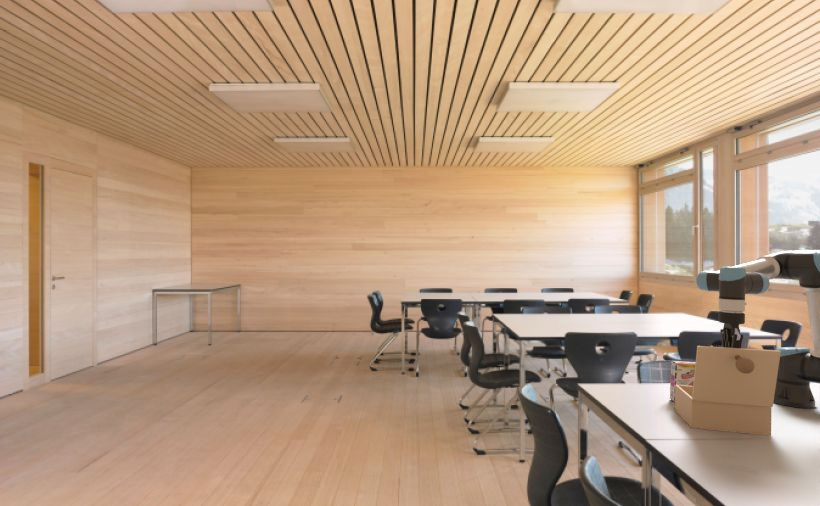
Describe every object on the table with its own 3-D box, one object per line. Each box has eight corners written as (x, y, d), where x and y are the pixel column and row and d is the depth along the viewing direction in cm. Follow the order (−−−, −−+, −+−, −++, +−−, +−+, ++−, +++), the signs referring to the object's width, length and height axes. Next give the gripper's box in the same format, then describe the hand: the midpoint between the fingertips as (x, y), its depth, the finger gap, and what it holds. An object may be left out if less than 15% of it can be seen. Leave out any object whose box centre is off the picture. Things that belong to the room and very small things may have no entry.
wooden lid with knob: (779, 350, 156) (794, 363, 147) (771, 405, 160) (785, 421, 151) (697, 345, 162) (706, 357, 153) (691, 399, 166) (700, 413, 157)
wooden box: (745, 416, 180) (745, 390, 180) (771, 435, 160) (771, 405, 160) (674, 410, 185) (675, 384, 186) (691, 427, 166) (691, 399, 166)
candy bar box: (674, 403, 195) (675, 363, 195) (669, 399, 200) (670, 360, 200) (703, 404, 194) (704, 364, 194) (697, 401, 199) (698, 361, 199)
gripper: (752, 314, 156) (751, 386, 156) (736, 310, 169) (735, 376, 169) (726, 313, 158) (725, 384, 158) (712, 309, 171) (711, 375, 171)
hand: (730, 380), depth 163 cm, fingers closed
